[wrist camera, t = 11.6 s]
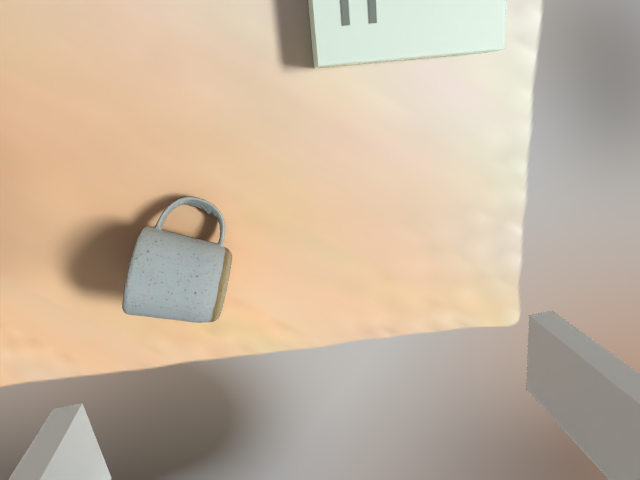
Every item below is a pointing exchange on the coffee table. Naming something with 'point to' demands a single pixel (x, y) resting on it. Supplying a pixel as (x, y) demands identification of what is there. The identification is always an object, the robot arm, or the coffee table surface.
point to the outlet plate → (403, 29)
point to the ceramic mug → (178, 272)
